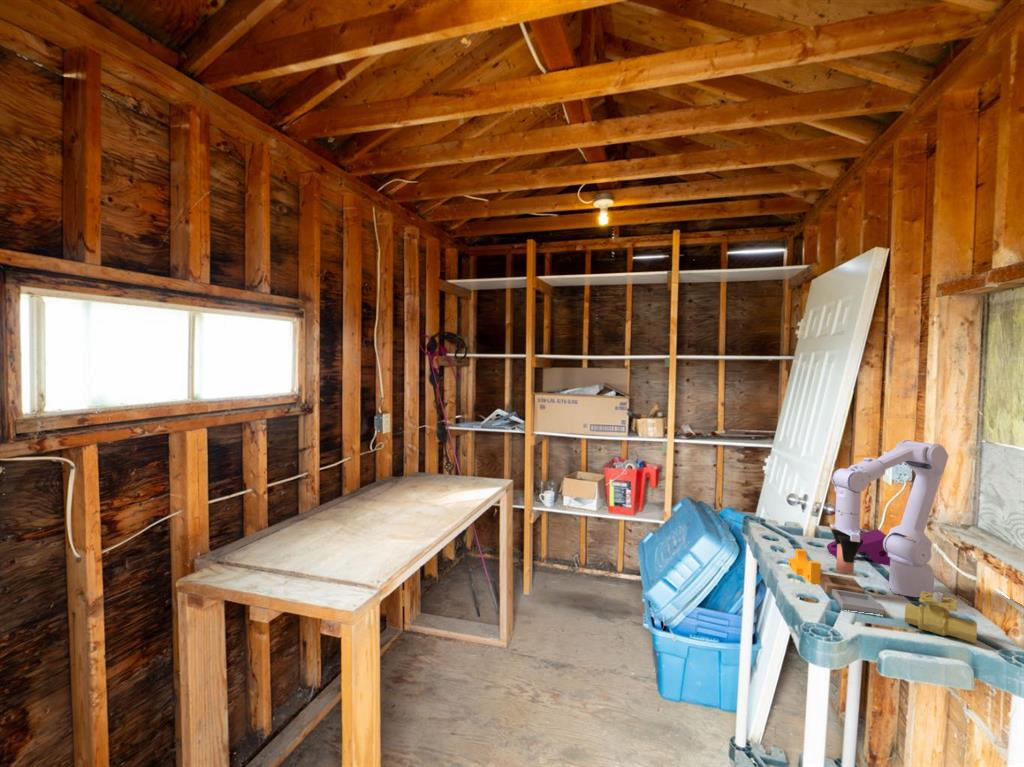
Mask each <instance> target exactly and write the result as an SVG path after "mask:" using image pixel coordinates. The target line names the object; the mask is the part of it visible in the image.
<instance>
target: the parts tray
mask: <svg viewBox="0 0 1024 767" xmlns="http://www.w3.org/2000/svg"><path fill="white" fill-rule="evenodd" d="M831 598H833V600H834V601H835V602H836V604H837V605H838V607H839V608H840V609H841V611H843V610H847V611H848V610H849V611H857V612H864V613H873V614H880V615H884V616H885V609H884V608H883V607H882V606H881V605H880V604H879V603H878V602H877V600H876V599H875V598H874V597H873V596H872V594H867V593H866V594H861V593H855V592H849V591H842V590H836V589H832V594H831ZM847 611H846V612H847ZM843 612H844V611H843Z"/></svg>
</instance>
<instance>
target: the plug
mask: <svg viewBox="0 0 1024 767" xmlns="http://www.w3.org/2000/svg"><path fill="white" fill-rule="evenodd" d="M835 566H836V567H835V568H836V569H835V570H837V571H839V572H841V573H844V574H849V575H850V574H854V568H855V567H854V566H855V561H854V562H853V563H849V562H844V560H843V555H842V547H841V544H837V556H836V565H835Z"/></svg>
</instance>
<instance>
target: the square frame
mask: <svg viewBox="0 0 1024 767" xmlns="http://www.w3.org/2000/svg"><path fill="white" fill-rule="evenodd" d="M819 586H820V587H821V588H822V589H823V591H824V592H825V594H827V595H832V589H836V590H842V591H849V592H855V593H861V594H865V592H866V591H865V589H864V588H863V587H862V586H861V585H860V584H859V583H858V582H857V581H856V579H855V578H854V577H848V576H842V575H841V576H840V575H835V574H829V573H828V574H827V573H824V572H823V573H821V576H820V585H819Z"/></svg>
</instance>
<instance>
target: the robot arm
mask: <svg viewBox="0 0 1024 767" xmlns="http://www.w3.org/2000/svg"><path fill="white" fill-rule="evenodd" d="M949 456H950V455H949V454H948V452H947V450H946V448H945V447H944V446H943V445H941V444H939V443H929V442H922V441H914V440H911V439H903V440H902V441H900V442H896V445H895V447H894V448H892V449H891V450H889V451H887V452H885V453H884V454H882V455H880V456H878V457H877V458H874V457H864V458H863V459H862V461H859V462H857V463H855V464H851V465H850V466H848V467H847V468H843V467H842V468H838V469H837V470H835V471H834V472H833V474H832V476H831V477H830V478H831V483H832V485H833V487H834V492H835V509H834V510H835V511H834V512H835V515H834V523H832V524H831V523H830V524H829V527H830V529H831V530H830V531H831V533H832V535H833V537H834V541H836V545H837V544H841V547H842V555H843V560H844V562H849V563H853V562H854V563H855V559H856V557H857V556H856V555H857V551H858V549H859V548H860V546H861V545H862V544H863V540H862V539H860V535H859V534H861V528H860V526H861V505H862V504H861V503H862V492H864V491H865V490H866V489H867V487H868V485H869V484H870V483H871V482H873V481H875V480H878V479H879V478H882V477H883V476H885V474H886V470H888V469H890V468H893V467H895V466H898V465H900V464H903V463H904V464H905V465H907V466H908V467H909V469H911V470H912V471H913V473H915V478H914V481H913V485H912V487H911V489H910V490H911V491H910V493H909V497H908V498H907V499H908V500H907V503H906V506H905V508H904V512H903V516H902V518H901V522H900V524H899V525H896V526H893V527H891V528H890V529H889V532H888V533H887V536H886V537H885V539H884V541H883V547H884V550H885V551H886V552H887V553H888V557H890V565H889V572H888V573H889V574H888V575H889V577H888V578H889V579H888V581H883V582H882V584H883V585H885V587H887V588H888V589H889V590H890V589H891V590H890V591H891V592H892V594H894V593H895V594H894V595H898V594H900V595H899V596H905V597H911V598H917V597H920V594H921V591H924V592H928V593H931V594H934V592H935V572H934V570H933V567H932V566H931V565H930V564H928V563H929V562H930V561H931V559H932V545H933V542H932V540H931V539H930V538H929V537H928V536H927V534H926V533H925V530H926V527H927V524H928V522H929V518H930V514H931V511H932V509H933V505H934V502H935V498H936V495H937V493H938V489H939V485H940V484H941V480H942V477H943V475H944V473H945V469H946V465H947V463H948V460H949Z"/></svg>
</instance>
